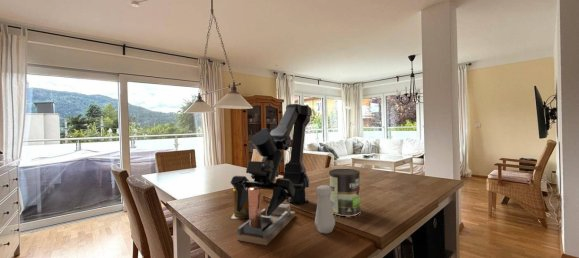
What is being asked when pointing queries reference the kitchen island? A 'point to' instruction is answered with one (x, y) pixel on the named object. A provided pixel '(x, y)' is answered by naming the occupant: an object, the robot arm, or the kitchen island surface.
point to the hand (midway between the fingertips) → (252, 213)
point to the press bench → (279, 220)
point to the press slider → (256, 214)
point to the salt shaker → (324, 210)
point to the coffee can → (345, 191)
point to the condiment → (245, 210)
